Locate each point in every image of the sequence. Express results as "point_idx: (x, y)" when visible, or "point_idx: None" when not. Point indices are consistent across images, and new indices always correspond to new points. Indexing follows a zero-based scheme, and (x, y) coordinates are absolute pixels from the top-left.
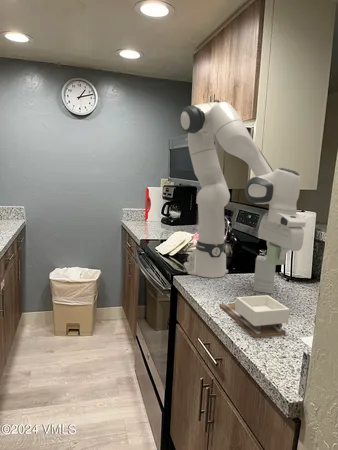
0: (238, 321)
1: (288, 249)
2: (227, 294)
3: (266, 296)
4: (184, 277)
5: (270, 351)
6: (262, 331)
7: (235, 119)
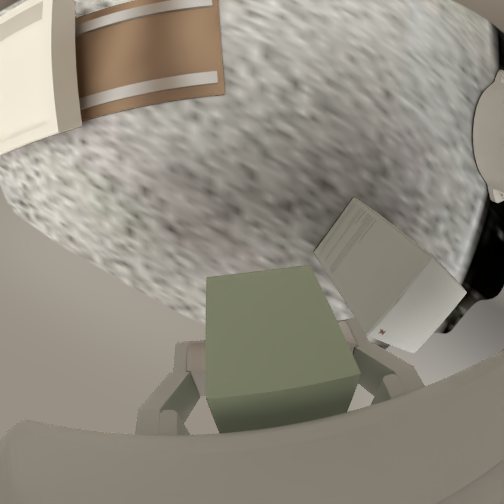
0: None
1: (45, 423)
2: (338, 73)
3: (47, 122)
4: (481, 37)
5: None
6: None
7: None
